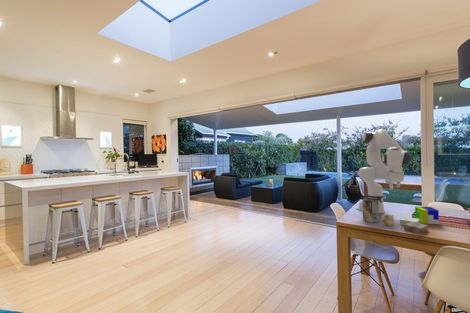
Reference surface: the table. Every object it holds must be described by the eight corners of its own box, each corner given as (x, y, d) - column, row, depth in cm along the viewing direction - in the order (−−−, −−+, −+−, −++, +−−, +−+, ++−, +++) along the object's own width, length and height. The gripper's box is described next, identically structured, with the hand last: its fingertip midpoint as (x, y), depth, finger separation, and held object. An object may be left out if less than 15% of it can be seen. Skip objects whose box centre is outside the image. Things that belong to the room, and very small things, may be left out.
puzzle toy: (438, 224, 168) (438, 210, 168) (422, 223, 170) (422, 210, 170) (430, 219, 178) (429, 206, 178) (415, 219, 180) (415, 206, 180)
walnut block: (403, 230, 160) (403, 224, 160) (410, 227, 165) (410, 221, 165) (421, 234, 151) (421, 228, 151) (427, 231, 157) (427, 225, 157)
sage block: (399, 224, 170) (399, 219, 170) (403, 221, 177) (403, 216, 177) (417, 228, 163) (417, 222, 163) (419, 224, 170) (419, 219, 170)
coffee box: (379, 222, 177) (378, 201, 177) (372, 223, 175) (372, 201, 175) (368, 218, 186) (368, 198, 186) (362, 219, 184) (362, 199, 184)
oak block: (382, 224, 172) (382, 215, 172) (386, 223, 174) (385, 213, 174) (389, 226, 168) (389, 216, 167) (393, 224, 170) (393, 215, 170)
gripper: (392, 170, 163) (392, 190, 163) (405, 169, 174) (406, 187, 174) (382, 170, 168) (382, 189, 169) (396, 168, 179) (396, 186, 179)
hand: (394, 188), depth 171 cm, fingers open, 8 cm apart
